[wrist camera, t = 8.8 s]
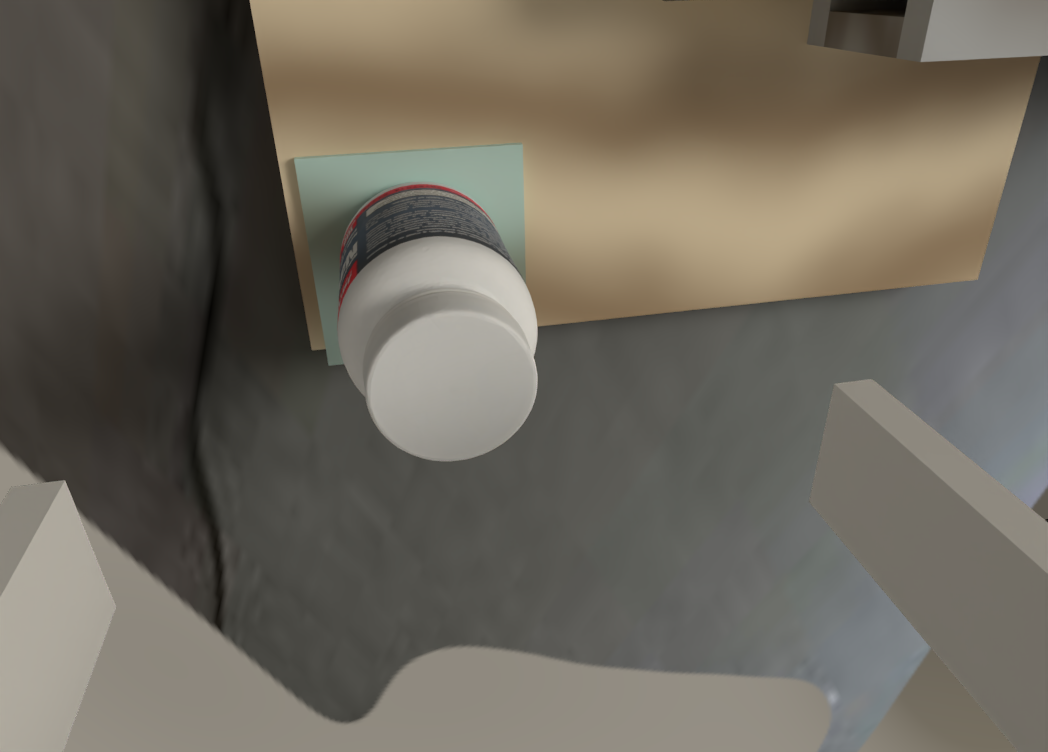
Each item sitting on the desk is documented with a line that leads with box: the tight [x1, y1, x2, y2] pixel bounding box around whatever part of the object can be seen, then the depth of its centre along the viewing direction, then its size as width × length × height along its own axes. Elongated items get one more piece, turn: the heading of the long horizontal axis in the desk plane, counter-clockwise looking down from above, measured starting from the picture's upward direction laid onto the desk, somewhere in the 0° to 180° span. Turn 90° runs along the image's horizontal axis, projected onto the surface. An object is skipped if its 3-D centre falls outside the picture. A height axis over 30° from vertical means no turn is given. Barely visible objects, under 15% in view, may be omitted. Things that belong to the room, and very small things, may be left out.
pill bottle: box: [337, 182, 538, 461], centre depth 21 cm, size 5×5×9 cm
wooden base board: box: [250, 0, 1048, 366], centre depth 23 cm, size 16×26×8 cm, turn 91°
